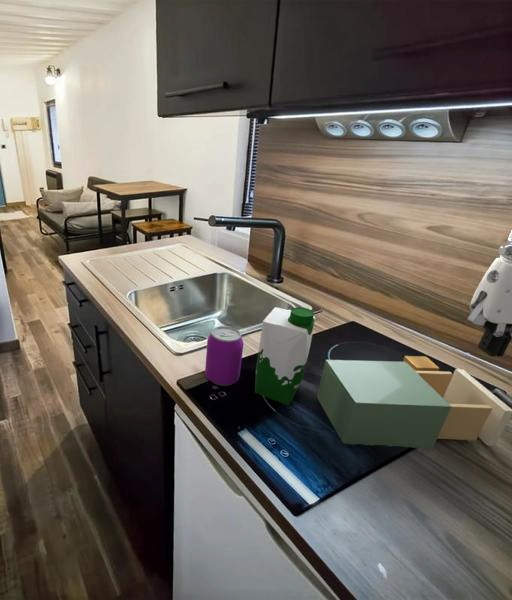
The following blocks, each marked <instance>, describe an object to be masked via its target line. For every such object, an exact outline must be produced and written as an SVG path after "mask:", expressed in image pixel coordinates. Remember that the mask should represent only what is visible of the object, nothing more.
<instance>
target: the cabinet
mask: <svg viewBox="0 0 512 600" xmlns="http://www.w3.org/2000/svg"><path fill="white" fill-rule="evenodd" d="M316 398H317V400H318V402H319V404H320V405H321V407H322V409H323V411H324V412H325V414H326V416H327V417H328V420H329V421H330V423H331V425H332V427H333V428H334V430H335V432H336V434H337V436H338V438H339V439H340V438H341V439H340V441H341V443H342V442H343V443H345V444H344V445H356V444H364V445H363V446H374V445H388V446H387V447H392V446H403V447H402V448H410V447H411V449H413V448H414V449H430V450H431V449H433V448H434V446H435V444H436V442H437V440H438V435H439V433H440V431H441V429H442V426H443V424H444V422H445V420H446V418H447V415H448V413H449V411H450V409H451V406H450V405H449V404H448V403H447V402H446V401H445V400H444V399H443V398H442V397H441V396H440V395H439V394H438V393H437V392H436V391H435V390H434V389H433V388H432V387H431V386H430V385H429V384H428V383H427V382H426V381H425V380H424V379H423V378H422V377H421V376H420V375H419V374H418V373H417V372H416V371H415V370H414V369H413V368H412V367H411V366H410V365H409V364H408V363H406V362H403V361H394V360H393V361H392V360H391V361H390V360H389V361H388V360H386V361H385V360H355V359H354V360H351V359H350V360H349V359H347V360H346V359H325V362H324V366H323V370H322V375H321V378H320V383H319V387H318V391H317V395H316ZM343 443H342V444H343ZM346 443H347V444H346ZM389 445H391V446H389Z"/></svg>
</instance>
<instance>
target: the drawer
mask: <svg viewBox="0 0 512 600" xmlns="http://www.w3.org/2000/svg"><path fill="white" fill-rule="evenodd" d="M416 372H417V373H418V374H419V375H420V376H421V377H422V378H423V379H424V380H425V381H426V382H427V383H428V384H429V385H430V386H431V387H432V388H433V389H434V390H435V391H436V392H437V393H438V394H439V395H440V396H441V397H442V398H443V399H444V400H445V401H446V402H447V403H448V404H449V405H450V406H451V409H450V411H449V413H448V415H447V418H446V420H445V422H444V424H443V426H442V429H441V431H440V433H439V435H438V438H437V440H438V439H439V440H441V439H442V440H459V441H460V440H461V441H477V439H478V438H479V439H480V440H481V441H482V442H483V443H484V444H485V445H486V446H491V447H493V446H494V447H495V446H496V445H497V442H498V441H499V439H500V438H501V435H502V434H503V432H504V430H505V428H506V426H507V424H508V423H509V421H510V419H511V417H512V397H511V396H510V395H508V394H507V393H506V392H505V391H504V390H502V389H501V388H494V389H493V390H489V389H488V388H487V387H485V386H484V385H483V384H481V382H479V381H478V380H477V379H476V378H474V377H473V376H472V375H470V373H468V372H467V371H466V370H465V369H463V368H455V370H454V371H453V373H452V372H451V371H442V370H439V371H416Z"/></svg>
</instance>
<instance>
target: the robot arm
mask: <svg viewBox="0 0 512 600" xmlns="http://www.w3.org/2000/svg"><path fill="white" fill-rule="evenodd" d="M508 235H509V236H508V238H507V240H506V242H505V244H504V246H500V247H498V249H497V254H498V255H500V256H499V257H496V258H495V259H494V260H493V262H492V263H491V264H490V266H489V268H488V269H487V270H486V272H485V274H484V275H483V277H482V278H481V280H480V282H479V284H478V286H477V287H476V290H475V291H474V293H473V296H472V298H471V301H470V304H469V311H471V313H470V314H469V315H468V317H467V321H469V323H472V324H474V325H478V326H481V328H482V329H483V330H484V331H483V334H482V336H481V338H480V340H479V342H478V345H477V348H478V349H479V350H480V351H482V352H484V353H485V354H486V355H488V356H489V357H493V358H494V357H498V358H501V357H503V356H504V355H505V353H506V351H507V348H508V347H509V345H510V343H511V341H512V230H511V231H510V233H509V234H508Z"/></svg>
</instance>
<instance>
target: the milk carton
mask: <svg viewBox="0 0 512 600" xmlns="http://www.w3.org/2000/svg"><path fill="white" fill-rule="evenodd" d="M316 318H317V317H316V316H315V313H314V311H313V310H312V309H309V308H307V307H301V306H300V307H299V306H297V307H293V308H292V309H284V308H281V307H274V308H273V309H272V310H271V311H270V312H269V313H268V315H267V316H265V318H264V319H263V320H262V324H261V325H262V326H261V331H260V337H259V345H258V352H257V360H256V367H255V379H254V381H255V382H254V394H258V395H260V396H262V397H265V398H268V399H270V400H273V401H275V402H278V403H281V404H283V405H285V406H287V407H288V406H290V405H291V403H292V401H293V400H294V397H295V396H296V393H297V392H298V390H299V387H300V386H301V383H302V382H303V379H304V376H305V371H306V368H307V363H308V357H309V354H310V349H311V344H312V339H313V333H314V328H315V322H316Z"/></svg>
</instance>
